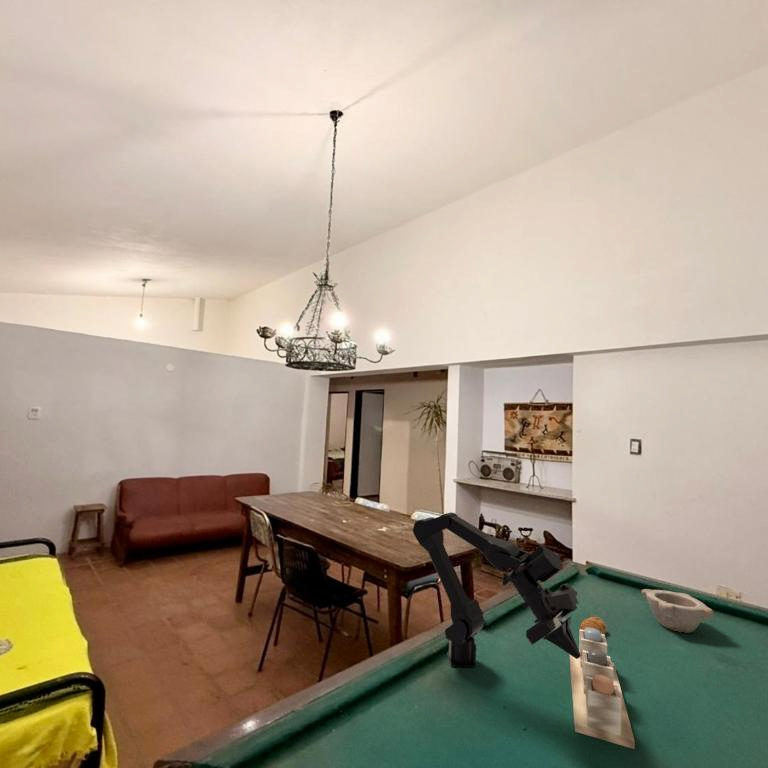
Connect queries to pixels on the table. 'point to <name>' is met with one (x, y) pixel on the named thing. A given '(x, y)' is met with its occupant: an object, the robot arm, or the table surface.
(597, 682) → the terracotta button
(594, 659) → the grey rounded piece
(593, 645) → the button console
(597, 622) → the pastry
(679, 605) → the mortar
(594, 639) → the pale blue rounded knob
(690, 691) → the table surface
